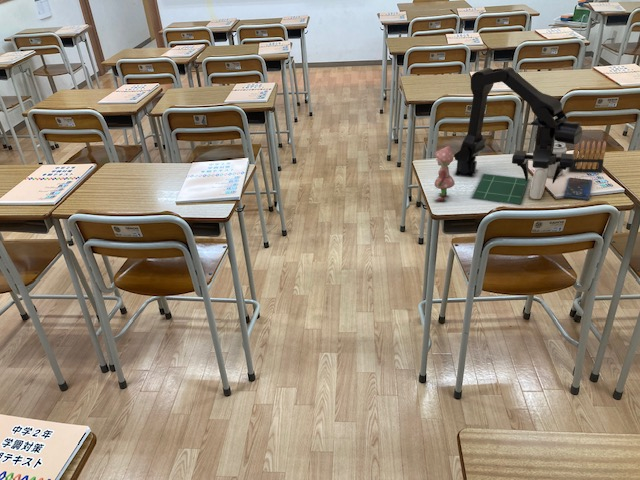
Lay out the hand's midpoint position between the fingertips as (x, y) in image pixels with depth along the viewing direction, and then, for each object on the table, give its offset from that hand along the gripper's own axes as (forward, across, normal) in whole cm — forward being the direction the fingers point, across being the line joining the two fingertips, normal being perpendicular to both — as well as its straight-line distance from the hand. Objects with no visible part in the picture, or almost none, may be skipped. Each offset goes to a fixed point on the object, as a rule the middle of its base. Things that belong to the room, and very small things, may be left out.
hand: (539, 181), depth 167 cm
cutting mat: (+4, -13, 0) cm, 13 cm away
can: (+5, +2, +17) cm, 18 cm away
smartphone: (+5, +12, +7) cm, 15 cm away
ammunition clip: (+5, +14, +23) cm, 27 cm away
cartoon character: (+4, -30, -13) cm, 33 cm away
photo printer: (+5, -1, 0) cm, 5 cm away
